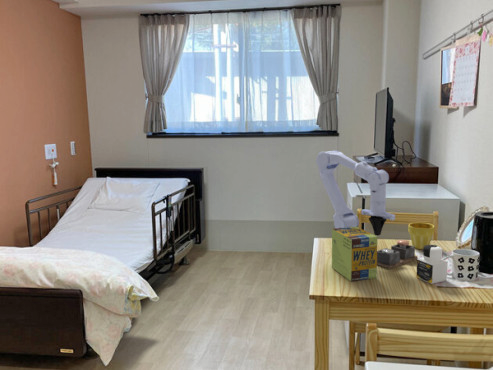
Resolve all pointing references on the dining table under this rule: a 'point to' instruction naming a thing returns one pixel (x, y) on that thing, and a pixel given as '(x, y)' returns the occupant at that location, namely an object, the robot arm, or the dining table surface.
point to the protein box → (354, 253)
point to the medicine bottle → (432, 265)
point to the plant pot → (420, 234)
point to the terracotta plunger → (403, 243)
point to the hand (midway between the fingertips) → (377, 234)
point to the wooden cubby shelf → (396, 256)
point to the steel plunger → (387, 251)
